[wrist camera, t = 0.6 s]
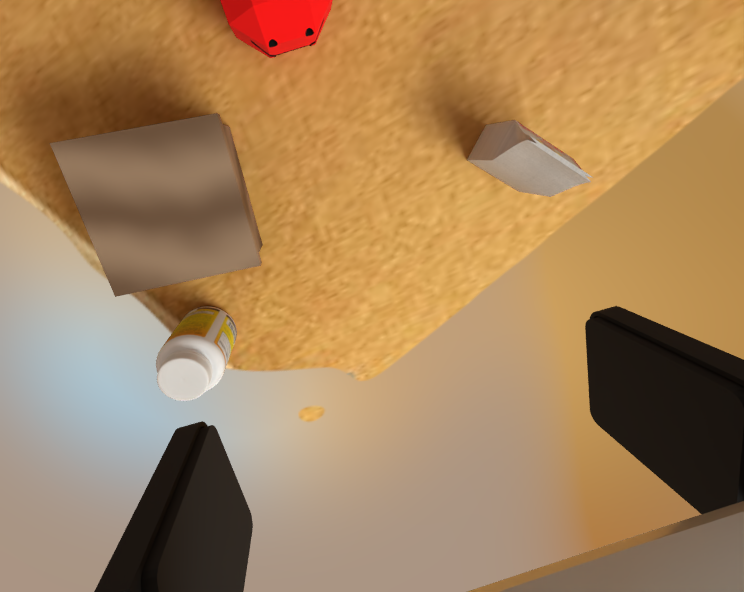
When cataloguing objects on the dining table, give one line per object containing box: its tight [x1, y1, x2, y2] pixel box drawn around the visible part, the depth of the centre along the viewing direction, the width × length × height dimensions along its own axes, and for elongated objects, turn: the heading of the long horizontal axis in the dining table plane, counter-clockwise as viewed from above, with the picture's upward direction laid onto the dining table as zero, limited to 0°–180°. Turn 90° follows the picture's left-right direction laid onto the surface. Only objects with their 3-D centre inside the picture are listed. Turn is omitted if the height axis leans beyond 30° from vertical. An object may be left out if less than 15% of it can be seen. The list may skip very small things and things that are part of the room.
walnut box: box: [50, 113, 262, 297], centre depth 35 cm, size 12×12×7 cm
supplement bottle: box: [156, 306, 237, 401], centre depth 38 cm, size 6×6×10 cm
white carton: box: [467, 120, 593, 197], centre depth 37 cm, size 4×7×10 cm, turn 62°
